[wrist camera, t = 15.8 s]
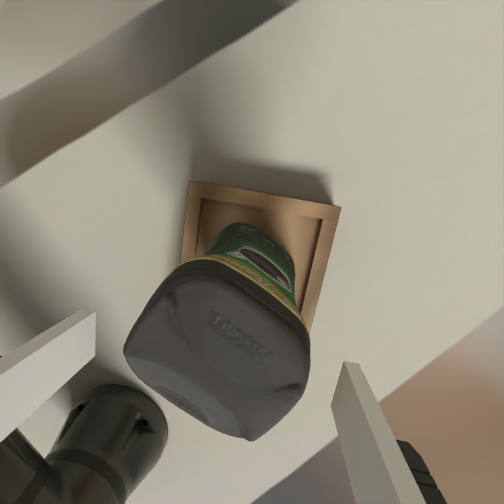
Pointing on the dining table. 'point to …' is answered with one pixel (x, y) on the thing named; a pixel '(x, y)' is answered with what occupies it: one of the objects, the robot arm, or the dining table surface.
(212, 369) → the coffee jar
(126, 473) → the robot arm
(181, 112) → the dining table surface
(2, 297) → the dining table surface
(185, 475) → the dining table surface
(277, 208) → the walnut tray
